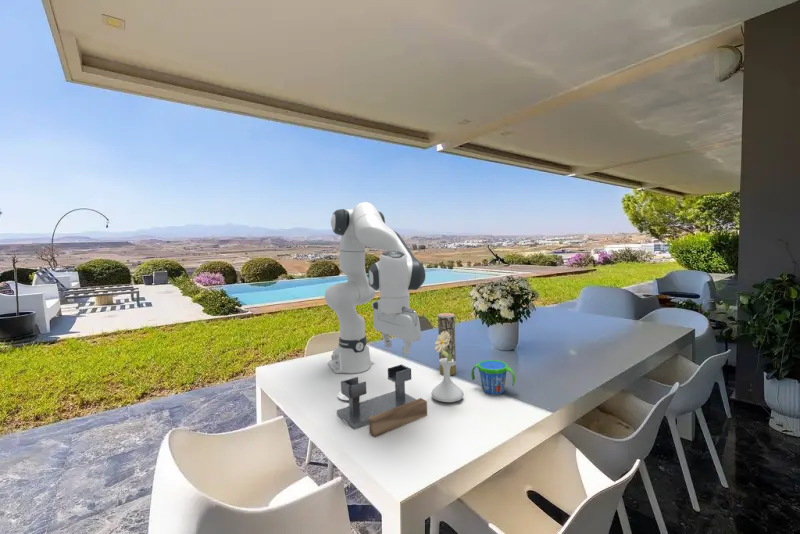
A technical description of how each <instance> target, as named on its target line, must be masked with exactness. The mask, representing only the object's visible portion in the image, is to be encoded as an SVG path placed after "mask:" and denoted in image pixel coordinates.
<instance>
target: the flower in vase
mask: <svg viewBox="0 0 800 534" xmlns="http://www.w3.org/2000/svg"><path fill="white" fill-rule="evenodd" d="M449 341H450V337H449V334H448V332H447V331H446V332H445V333H444V331H443V332H441V335H439V334H438V335H437V337H436V341H435V342H434V345H435V346H434V351H436V353H437V354H439V353H440V352H442V354H443V355H444V356H446V357H448V358H442V359H440V360H438V361H440V362H441V364H442V367H443V372H444V375H443V378H442V379H443V380H442V381H441V382H440V383H438V385H436V386H435V387H434V388H432V390H431V393H430V394H431V395H430V396H432V398H433V399H435V400H436V401H439V402H443V403H454V402H457V401H460V400H461V399H462V398H463V397H464V390H462V389H461V387H460V386H458V385H457V384H456V383H454V382H453V381H452V380H451V376H450V367H451V364H452V362H453V361H454V360H453V359H451V354H448V353H449V349H448V347H447V345H449ZM446 348H447V349H448V353H447V352H446V351H445V349H446Z"/></svg>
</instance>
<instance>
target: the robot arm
mask: <svg viewBox="0 0 800 534" xmlns="http://www.w3.org/2000/svg"><path fill="white" fill-rule="evenodd" d="M330 218H331V219H330V227H331V228H332V232H333V233H334V234H335V235H338V236H340V239H339V258H338V259H339V262H338V266H339V270H341V271H342V272H343V273H345V275H346V278H347V281H345V282H340V283H335V284H333V285H331V286H329V287H326V288H327V289H326V290H325V292H324V301H325V303H326V305H327V306H328V307H329V308H330V309H331V310H332V311H334V313H335V314H336V316H337V318H338V319H337V320H338V325H339V333H340V334H339V337H338V345H337V347H336V348H335V349H334V350H333V351H332V354H331V356H330V357H331V360H328V361H327V365H328V364H329V365H330V366H329V365H328V366H329V367H330V369H331V370H332V369H333V370H332V371H333V372H334V373H335V374H359V373H363V372H366V371H368V370H369V369H371V366H372V365H373V364H374V362H373V361H372V359H371V355H370V353H371V352H370V347H369V346H368V345H367V343H368V341H367V335H366V321H365V319H364V317H363V316H362V315H360V314H359V313H358V312H357V308H356V306H360V305H365V304H366V303H370V302H371V301H373V299H374V298H375V295H376V291H377V292H380V295H379V299H378V300H375V301H373V302H372V303H371V307H372V310H373V312H372V318H373V319H372V321H373V322H372V323H373V327H374V330H375V331H377V332H379V333H381V337H382V339H383V342H384V347H386V348H392V346H393V344H392V340H391V338H390V336H391V337H394V338H397V339H400V340H403V344H404V347H402V348H401V351H402V354H404V355H405V356H407V355H410V353H411V347H412V344H413V343H414V342H418V341H420V340H421V338H422V332H421V331H422V330H421V323H420V319H419V316H418V313H416V311H415V309H414V308H411V307H410V306H411V302H410V291H417V290H418V289H420V288H421V287H422V285H423V284H424V283H425V280H426V270H425V267H424V265H423V264H422V263H421V261H420V260H418V259H417V257H415V255H414V254H413V252H412V251H411V250H410V248H409V247H408V245H407V243H405V241H404V239H403V238H402V236H401V235H400V234H399V233H398V232H397V231H395V230H394V229H392V228H390V227H389V226H388V225H387V224H386V221H385V218H386V217H385V216H384V214H383V212H381V211H379V210H378V209H377V207H376V206H375V205H374V204H372V203H370V202H367V201H364V202H363V201H362V202H360V203H357V204H356V205H355V206H354V207H353V208H352V209H348V208H347V209H346V208H341V209H336V210H334V211H333V213H332V216H331V217H330ZM366 248H370V249H376V250H377V249H378V250H383V251H384V252H382V253H381V254H380V255H379V260H378V261H377V262H374V263H372V264H371V265H370V266H369V268H368V270H367V272H368V273H367V272H366ZM367 274H368V275H367Z"/></svg>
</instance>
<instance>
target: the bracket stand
mask: <svg viewBox="0 0 800 534" xmlns="http://www.w3.org/2000/svg"><path fill="white" fill-rule="evenodd" d="M387 379H388V380H389V381H391V382H392V383H394V391H391V392H388V393H385V394H382V395H379V396H376V397H372V398H370V399H366V400H364V401H361V402H360V397H361V396H364V395H367V382H366V381H361V382H359V376H357V377H353V378H348V379H345V380H341V381H340V391H341V393H342V394H343V395H345V396H344V397H346V398H347V399H348V401H349V402H348V403H349V405H348V406H346V407H343V408H339V409H337V410H336V415H337V414H338V415H339V416H340V417H341V418H340V417H339V416H338V415H337V416H338V417H339V418H340V419H341V420H343V419H344V420H345V421H346V422H347V423H348V424H347V423H346V422H345V421H344V420H343V421H344V422H345V423H346V424H347V425H349V426H350V427H351V426H352V427H353V428H354V430H357V429H359V428H361V427H364V426H367V425H369V417H372V416H374V415H377V414H380V413H382V412H385V411H388V410H390V409H393V408H396V407H398V406H401V405H404V404H406V403H409V402H412V401H414V400H417V399H418V398H417V399H416V398H415V397H413V396H411V395H409V394H407V393H406V387H405V386H406V384H405V382H408V381H411V380H412V368H410V367H408V366H406V365H404V364H398V365H395V366H391V367H387ZM352 427H351V428H352ZM353 428H352V429H353ZM356 428H357V429H356Z"/></svg>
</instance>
